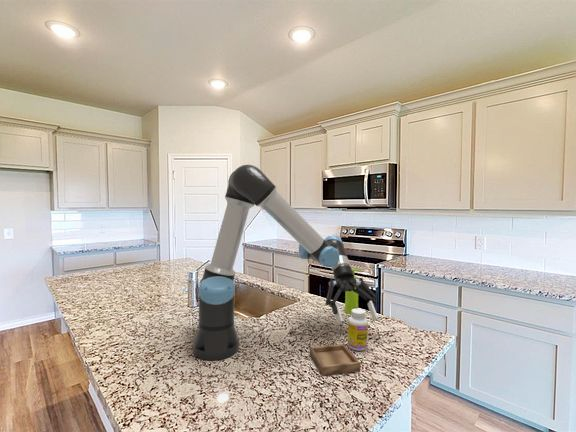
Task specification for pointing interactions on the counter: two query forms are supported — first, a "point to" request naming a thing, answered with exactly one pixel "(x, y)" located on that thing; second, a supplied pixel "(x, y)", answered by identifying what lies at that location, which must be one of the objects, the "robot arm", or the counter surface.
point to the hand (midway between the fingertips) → (358, 320)
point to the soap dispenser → (351, 298)
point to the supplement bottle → (357, 330)
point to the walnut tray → (334, 359)
